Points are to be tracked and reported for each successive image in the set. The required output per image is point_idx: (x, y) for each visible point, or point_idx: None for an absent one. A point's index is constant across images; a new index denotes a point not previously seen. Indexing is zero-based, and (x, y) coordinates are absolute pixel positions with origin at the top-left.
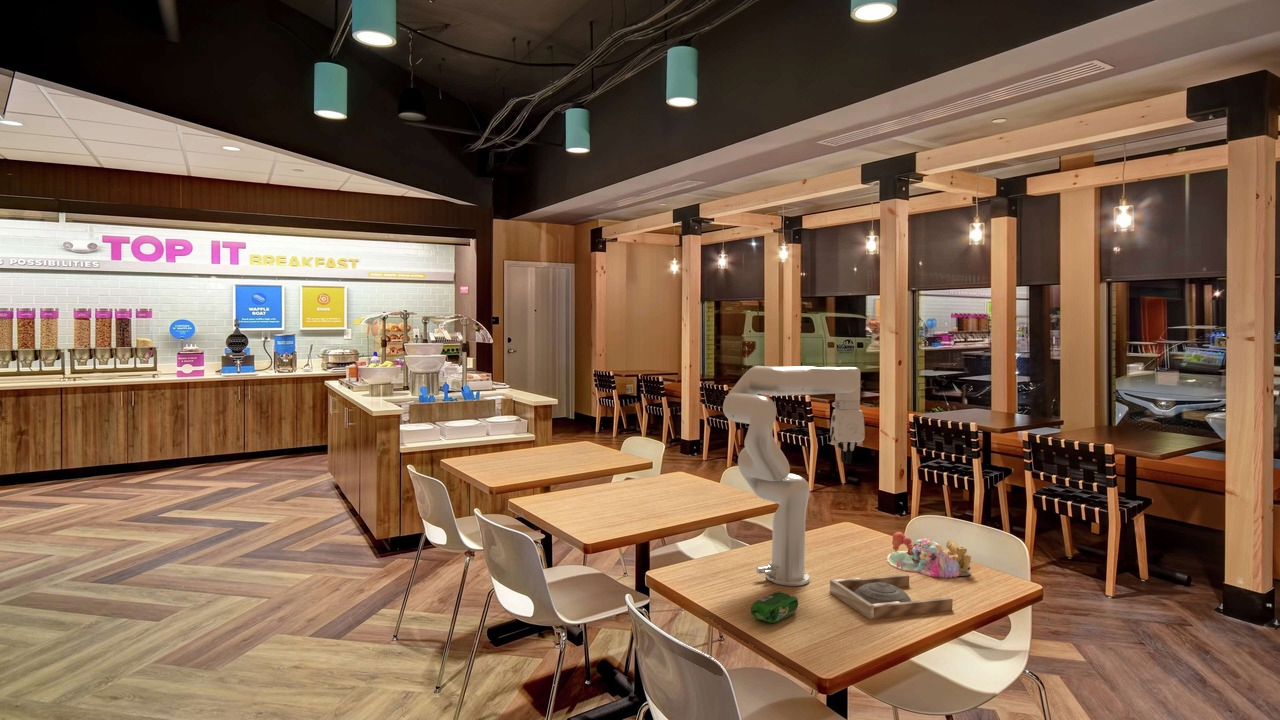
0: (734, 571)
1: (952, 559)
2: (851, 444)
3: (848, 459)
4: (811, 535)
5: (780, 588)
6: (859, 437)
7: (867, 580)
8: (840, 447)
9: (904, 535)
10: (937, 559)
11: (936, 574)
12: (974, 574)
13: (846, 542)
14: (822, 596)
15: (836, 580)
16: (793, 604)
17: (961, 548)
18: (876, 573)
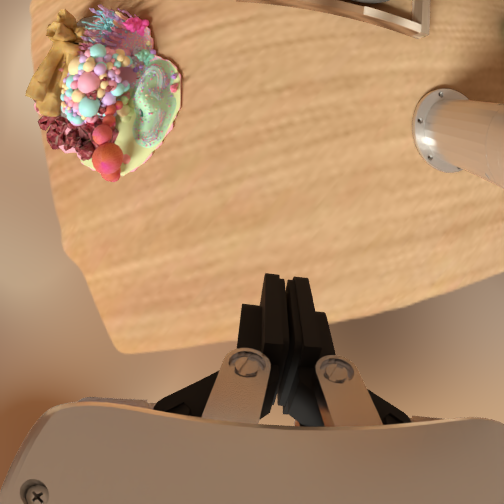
0: (490, 208)
1: (99, 4)
2: (254, 413)
3: (290, 296)
4: (222, 330)
5: None
6: (128, 464)
7: (347, 3)
8: (381, 401)
9: (94, 151)
10: (106, 41)
11: (140, 19)
12: None
13: (176, 271)
14: (440, 33)
15: (418, 27)
16: None
17: (57, 22)
18: (251, 72)
